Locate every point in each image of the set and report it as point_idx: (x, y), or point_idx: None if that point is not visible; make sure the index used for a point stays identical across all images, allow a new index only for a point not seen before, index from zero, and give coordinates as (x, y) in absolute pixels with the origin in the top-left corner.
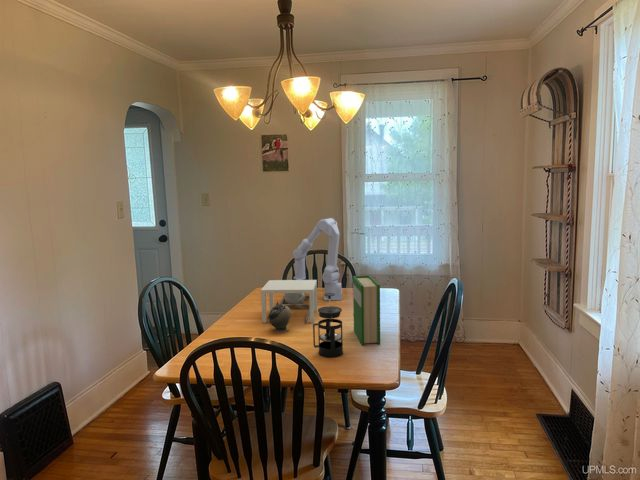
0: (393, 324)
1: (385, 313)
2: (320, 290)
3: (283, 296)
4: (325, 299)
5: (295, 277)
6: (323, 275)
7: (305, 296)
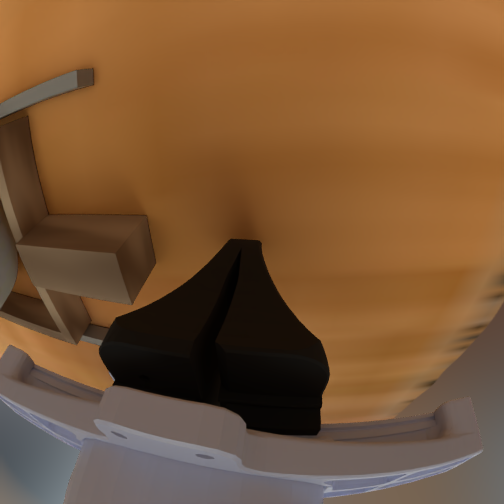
0: None
1: None
2: (371, 372)
3: (47, 83)
4: (110, 375)
5: (119, 447)
6: (65, 494)
7: (48, 306)
